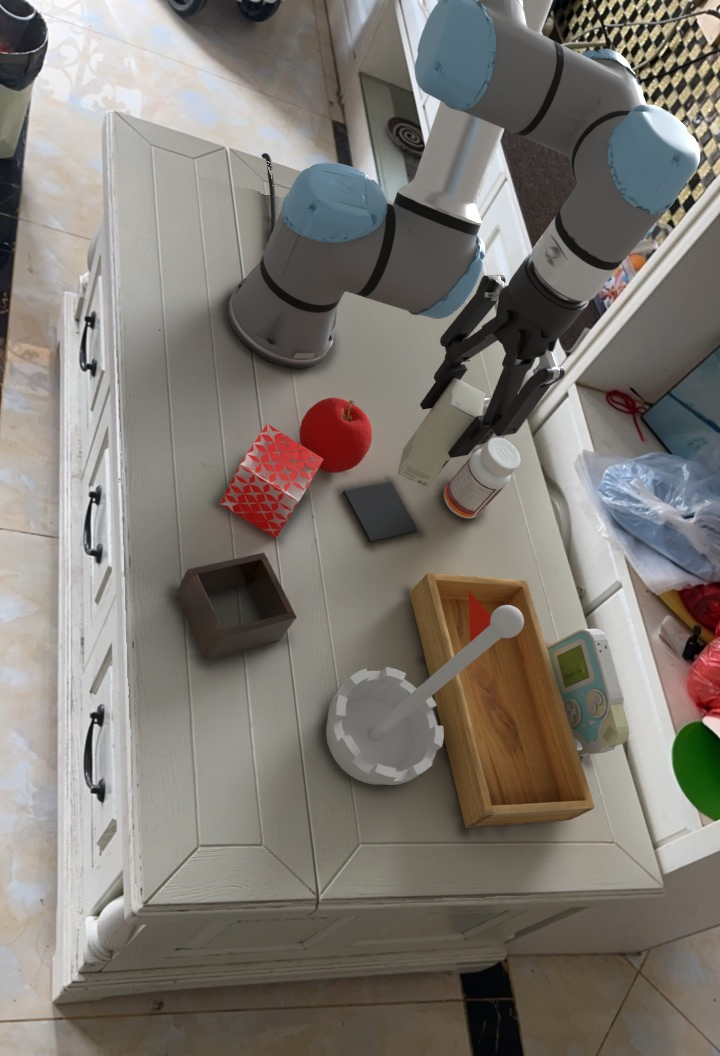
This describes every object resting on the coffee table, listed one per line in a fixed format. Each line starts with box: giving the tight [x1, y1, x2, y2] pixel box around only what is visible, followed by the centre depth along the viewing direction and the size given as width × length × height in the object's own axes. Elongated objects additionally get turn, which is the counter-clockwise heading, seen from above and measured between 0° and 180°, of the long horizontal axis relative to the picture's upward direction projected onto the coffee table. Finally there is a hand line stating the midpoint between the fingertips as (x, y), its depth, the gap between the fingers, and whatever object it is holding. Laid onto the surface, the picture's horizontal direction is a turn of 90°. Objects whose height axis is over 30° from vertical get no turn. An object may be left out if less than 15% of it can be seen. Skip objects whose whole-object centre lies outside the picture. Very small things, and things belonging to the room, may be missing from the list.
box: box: [397, 378, 486, 489], centre depth 104 cm, size 5×4×13 cm
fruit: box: [299, 397, 373, 474], centre depth 113 cm, size 9×9×10 cm
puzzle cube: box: [219, 423, 323, 539], centre depth 106 cm, size 8×8×8 cm
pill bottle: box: [443, 438, 521, 519], centre depth 120 cm, size 6×6×11 cm
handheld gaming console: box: [546, 628, 630, 757], centre depth 111 cm, size 11×3×15 cm
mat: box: [342, 481, 419, 544], centre depth 116 cm, size 8×8×1 cm
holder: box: [174, 551, 297, 662], centre depth 97 cm, size 9×10×6 cm
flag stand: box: [325, 590, 524, 786], centre depth 88 cm, size 13×13×30 cm
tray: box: [409, 572, 596, 829], centre depth 107 cm, size 31×15×6 cm, turn 11°
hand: (443, 429), depth 103 cm, fingers closed on box, 6 cm apart
